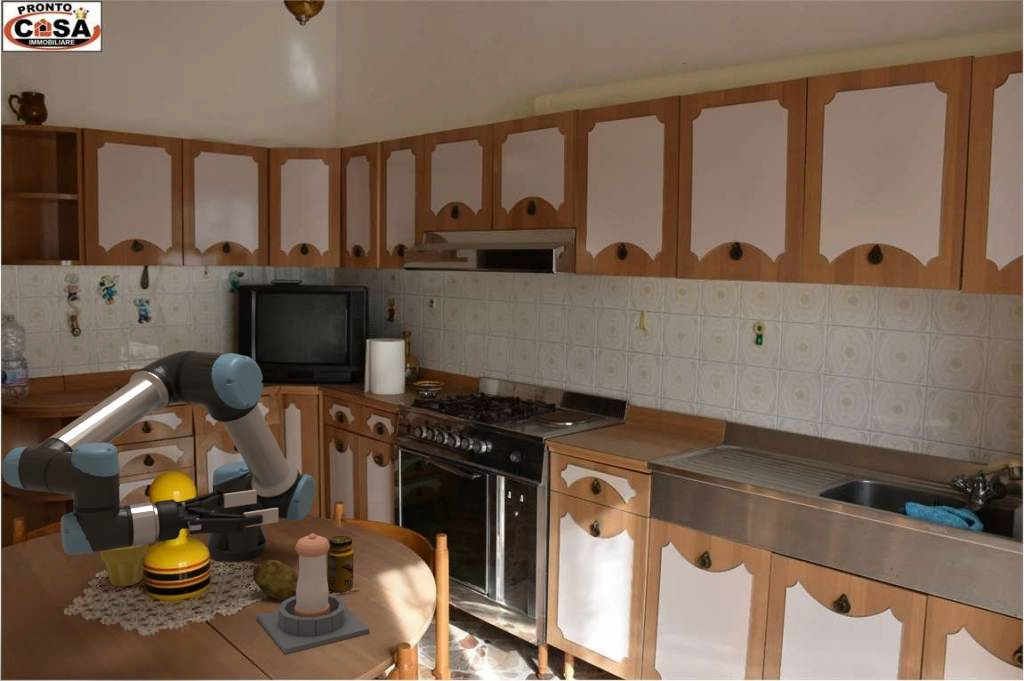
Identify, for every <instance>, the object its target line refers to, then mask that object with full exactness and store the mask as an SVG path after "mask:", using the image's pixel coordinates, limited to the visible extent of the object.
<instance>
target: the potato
mask: <svg viewBox="0 0 1024 681" xmlns="http://www.w3.org/2000/svg"><path fill="white" fill-rule="evenodd" d="M298 576H299V571H296V570H295V569H294V568H293V567H291V566H289V565H286V564H284V563H283V562H281V561H279V560H276V559H265V560H263V561H261V562H259V563H257V564H256V565H255V567H254V568H253V570H252V579H253V581H254V584H256V586H257V587H258V588H259V589H260V590H261V591H263V592H264V593H267V594H268V595H269V596H270V597H271V598H273V599H276V600H279V601H285V600H287V599H289V598H291V597H294V596H296V588H297V582H298Z"/></svg>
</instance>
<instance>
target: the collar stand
mask: <svg viewBox="0 0 1024 681" xmlns="http://www.w3.org/2000/svg"><path fill="white" fill-rule="evenodd" d="M328 603H329V605H330V614H327V615H323V616H319V617H298V616H295V615H294V608H295V605H296V596H294V597H291V598H289V599H287V600H282V601H281V603H280V605H279V608H278V610H274V611H273V610H272V611H269V612H263V613H258V614H256V620H257V621H259V622H258V623H259V624H260V626H262V627H263V629H264V630H265V632H267V633H268V635H269V636H270V637H271V639H272V640H273V641H274V643H275V644H276V645H277V646H278V647H279V648H280V650H281V651H282V653H283V654H284V655H287V654H291V653H295V652H300V651H304V650H308V649H310V648H311V649H312V648H316V647H320V646H323V645H327V644H331V643H335V642H336V643H337V642H339V641H344V640H347V639H352V638H356V637H360V636H365V635H368V634H370V628H369V627H368V626H367V625H366V624H365V623H364V622H363V621H362V620H361V619H359V618H358V617H357V616H356V615H355V614H354V613H353V612H352V611H351V610H350V609H349V608H348V607H347V606H346V601H345V600H344V599H343V598H341V597H340V596H338V595H332V594H328Z"/></svg>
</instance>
